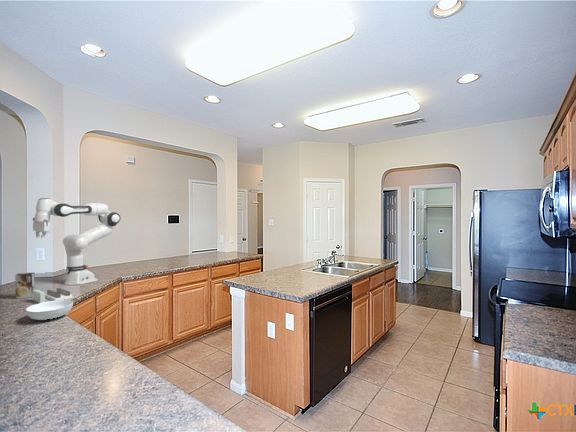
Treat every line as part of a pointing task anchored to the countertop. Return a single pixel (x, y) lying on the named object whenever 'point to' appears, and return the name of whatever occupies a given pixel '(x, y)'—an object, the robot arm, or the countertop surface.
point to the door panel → (38, 296)
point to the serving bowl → (49, 309)
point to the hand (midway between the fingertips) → (40, 237)
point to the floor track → (58, 294)
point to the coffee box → (24, 285)
